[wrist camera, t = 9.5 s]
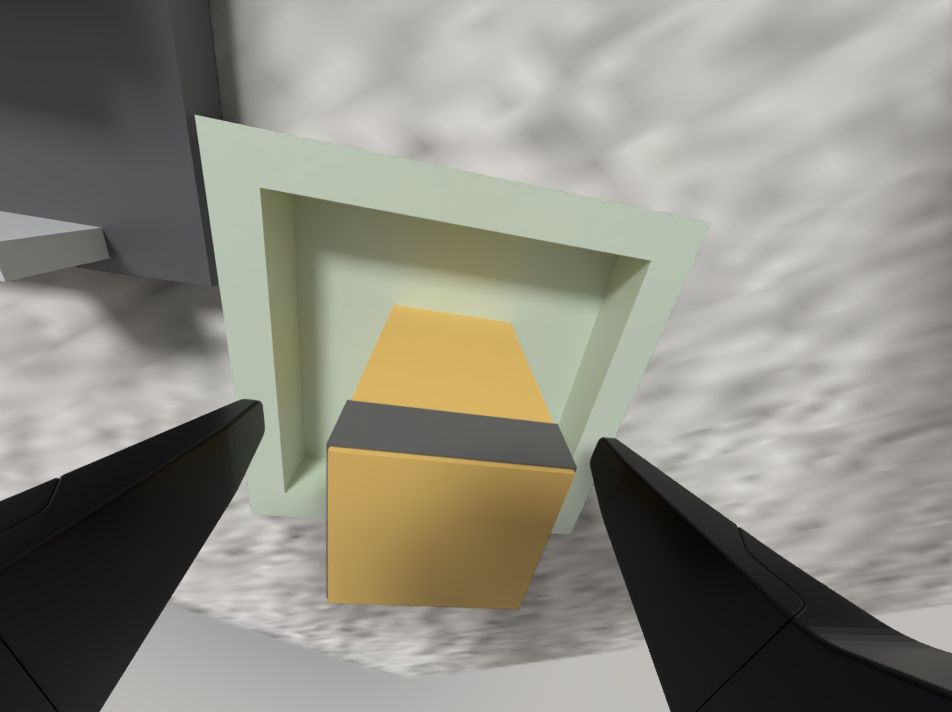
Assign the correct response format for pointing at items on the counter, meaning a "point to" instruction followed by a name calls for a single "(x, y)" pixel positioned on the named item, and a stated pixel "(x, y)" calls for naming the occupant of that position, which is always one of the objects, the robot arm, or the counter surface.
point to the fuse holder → (105, 137)
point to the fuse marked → (442, 469)
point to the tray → (421, 288)
